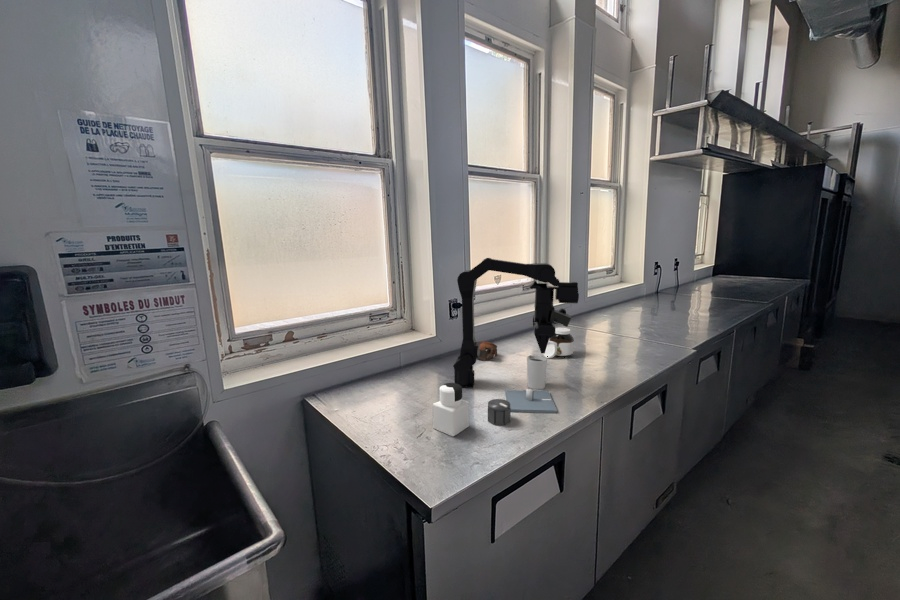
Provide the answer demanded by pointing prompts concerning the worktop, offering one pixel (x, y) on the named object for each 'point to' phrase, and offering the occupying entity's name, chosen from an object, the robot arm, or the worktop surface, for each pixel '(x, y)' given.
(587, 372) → the worktop surface
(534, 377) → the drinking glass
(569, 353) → the spread jar
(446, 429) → the medicine bottle
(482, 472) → the worktop surface
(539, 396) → the base plate
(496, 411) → the knob
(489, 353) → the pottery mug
